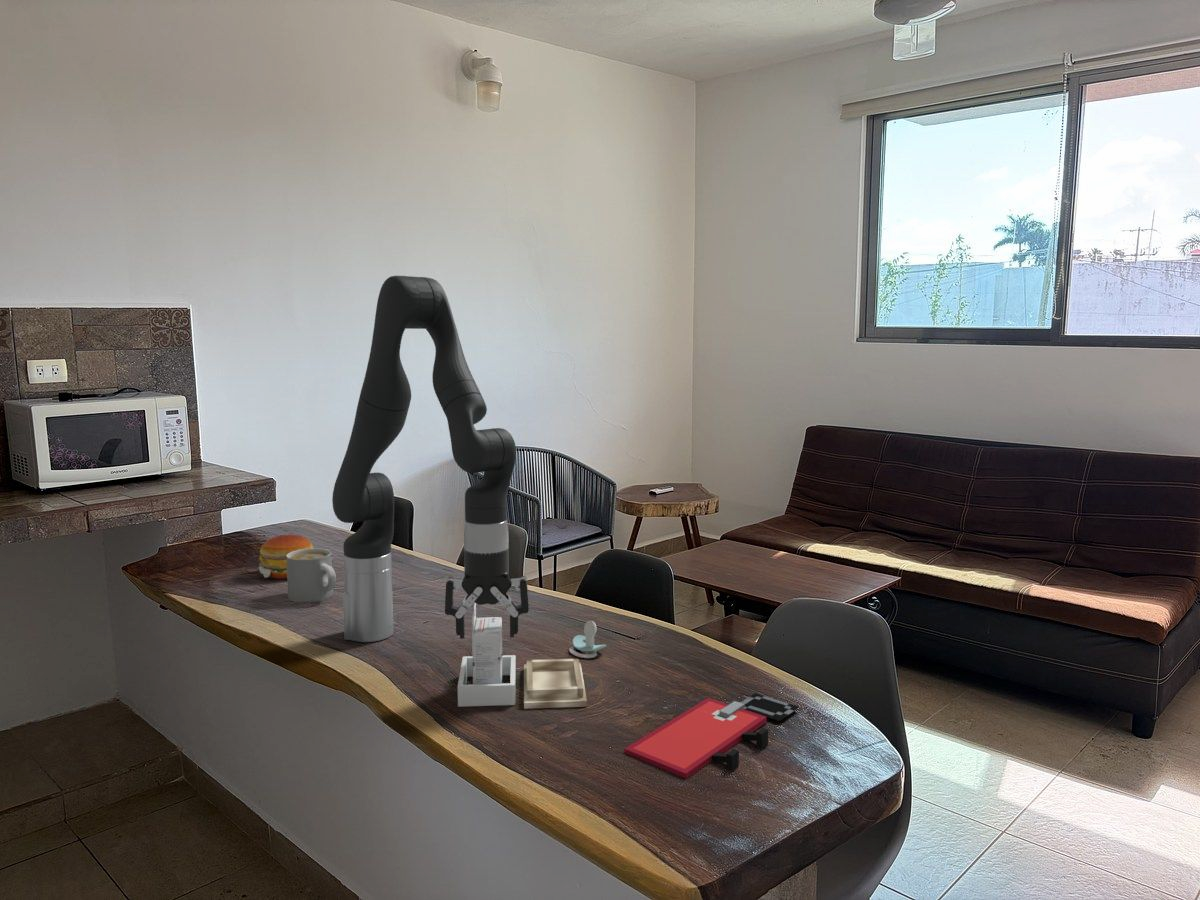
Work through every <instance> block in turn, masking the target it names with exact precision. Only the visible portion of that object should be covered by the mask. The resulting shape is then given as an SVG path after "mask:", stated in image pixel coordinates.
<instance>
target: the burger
mask: <svg viewBox="0 0 1200 900" xmlns="http://www.w3.org/2000/svg"><path fill="white" fill-rule="evenodd" d="M310 548H314V546H313V543H312V542H311V541H310V540H309V539H308V538H307V537H305V536H302V535H298V534H293V533H292V534H290V533H289V534H281V535H276V536H273V537H271V538H269V539H267V540H266V541H265V542H264V543H263V544H262V545H261V547H260V549H259V550H260V551H259V552H260V553H258V555H259V557H258V558H259V559H258V560H259V564H258V565H259V566H258V570H259V573H260V575H262V576H263V578H271V579H287V563H286V555H287V554H288V553H290V552H293V551H296V550H301V549H310Z"/></svg>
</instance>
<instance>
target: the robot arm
mask: <svg viewBox="0 0 1200 900" xmlns="http://www.w3.org/2000/svg"><path fill="white" fill-rule="evenodd" d="M406 329H407V330H408V329H409V330H410V329H411V330H412V329H413V330H417V329H418V330H423V329H425V330H426V331H427V332H428V335H430V337H431V340H432V341H433V344H434V349H435V353H434V354H435V355H434V356H435V357H434V362H433V367H432V374H431V375H432V387H433V390H434V393H435V396H436V397H437V400H438V402H439V404H440V407H441V409H442V411H443V413H444V415H445V417H446V419H447V427H448V432H449V438H450V444H451V446H450V447H451V453H452V456H453V459H454V462H455V463H456V465H457V466H458V467H459V468H460V469H461V470H462V471H464V472H466V473H467V474H468V473H469V474H476V473H477V474H478V473H483V475H482V478H481V480H480V481H478V482H477V483H475V484H473V485H471V486H469V487H468V488H466V490H465V492H464V493H465V494H464V529H463V557H464V559H463V560H464V561H463V562H464V564H463V565H464V567H463V568H464V569H463V570H464V575H463V578H462V579H454V578H453V577H451V576H449V577H448V578H447V580H446V583H445V594H444V595H445V596H444V597H445V600H444V613H445V615H446V616H452V617H454V618H455V633H456V635H457V636H459V638H460V639H465V636H466V624H465V620H466V619H465V614H466V612H468V610H469V609H470V608H471V607H472V605H474V603H476V605H478V606H479V605H482V606H483V605H485V604H488V605H497V604H498V603H500V604H501V606H502V607H503V608H504V609H506V610H507V612H508V613H509V638H515V635H518V633H519V616H520V615H523V614H527V613H528V612H529V610H530V609H529V608H530V607H529V593H528V579H527V577H526V576H525V575H521V576H520V577H518V578H517V577H516V578H511V576H510V573H509V572H510V570H509V569H510V568H509V567H510V565H509V564H510V561H509V555H510V554H509V553H510V550H509V543H510V539H509V526H508V520H507V519H508V516H507V515H508V513H507V506H508V505H507V495H508V492H509V487H510V485H511V481H512V476H513V472H514V468H515V465H516V460H517V447H516V442H515V440H514V437H513V435H512V434H511V432H509V431H508V430H507V429H505V428H502V427H493V428H485V429H476V427H475V425H476V424H478V423H479V422H480V421H482V420H483V419H484V418H485V417H486V415H487V411H488V407H487V404H486V402H485V399H484V397H483V395H482V393H481V391H480V389H479V387H478V384H477V382H476V381H475V379H474V377H473V374H472V372H471V370H470V368H469V365H468V362H467V359H466V357H465V353H464V350H463V348H462V344H461V340H460V337H459V333H458V329H457V325H456V322H455V318H454V315H453V312H452V308H451V305H450V301H449V299H448V296H447V294H446V291H445V290H444V288H443V286H442V284H441V283H439V281H438V280H436V279H434V278H432V277H425V276H410V275H409V276H407V275H392V276H389V277H388V278H386V279H385V280H384V281H383V284H382V285H381V287H380V290H379V294H378V298H377V302H376V309H375V316H374V325H373V332H372V339H371V340H372V341H371V346H370V352H369V357H368V362H367V366H366V370H365V374H364V379H363V382H362V387H361V389H360V394H359V397H358V401H357V402H358V403H357V406H356V411H355V416H354V421H353V425H352V429H351V430H352V431H351V434H350V437H349V441H348V443H347V444H348V445H347V449H346V451H345V454H344V457H343V460H342V462H341V465H340V468H339V471H338V472H337V473H338V474H337V477H336V479H335V482H334V486H333V490H332V499H331V501H332V509H333V514H335V515H334V516H335V517H336V519H338V520H339V521H340V522H342V523H344V524H352V523H360V522H361V523H362V522H363V523H362V525H361V526H360V527H359V528H358V529H357V530H356V531H355V532H353V533H352V534H351V535H349V536H348V537H347V538H346V539H345V540H344V542H343V564H344V567H343V568H344V592H343V593H342V605H343V606H342V608H343V632H344V633H343V634H344V640H345V641H353V642H356V643H357V642H358V643H373V642H378V641H383V640H385V639H388V638H390V637H391V636H392V635H393V634H394V607H393V604H394V603H393V602H394V601H393V578H392V577H393V574H392V571H393V570H392V542H393V538H394V535H395V534H394V533H395V531H394V530H395V529H394V528H395V521H394V520H395V493H394V489H393V488H394V487H393V484H392V482H391V480H390V478H389V477H388V476H387V475H385V473H382V472H372V469H373V468H374V465H375V464H376V462H377V461H378V459H379V458H380V457H381V456H382V455H383V454H384V452H385V451H387V449H388V448H389V447H390V446H391V445H392V443H394V441H395V440H396V439H397V438H398V436H399V435H400V433H401V432H402V430H403V428H404V426H405V424H406V420H407V416H408V413H409V410H410V405H411V401H412V389H411V385H410V382H409V379H408V377H407V373H406V371H405V369H404V367H403V364H402V360H401V353H400V351H401V345H402V339H403V336H404V333H405V330H406ZM512 586H513V587H514V588H515V590H516V591H517V592H519V593H520V604H519V605H516V604H515V602H514V601H513V599H512V598H511V596H510V595H509V594H508V591H509V590H510V588H511V587H512ZM460 587H462V589H463V591H464V592H465V593H466V595H465V597H464V598H463V600H462V601H461V603H460V604H459V606H455V605H454V595H455V594H454V593H457V592H458V591H459V588H460Z"/></svg>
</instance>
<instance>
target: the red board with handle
mask: <svg viewBox="0 0 1200 900" xmlns="http://www.w3.org/2000/svg"><path fill="white" fill-rule="evenodd" d="M799 708H800V706H798V705H795V704H792V703H789V702H785V701H782V700H779V699H775V698H772V697H769V696H765V695H762V694H759V693H756V692H754V693H753V694H752V695H750V696H748V697H747V698H745V699H744V700H742V701H741V702H739V701H737V700H734V701H732V702H731V703H730V704H728V703H725V702H722V701H720V700H719V701H718V700H716V699H712V698H710V697H707V698H706V699H704V700H702V701H701V702H699V703H697V704H696V705H694V706H692V707H691V708H689V709H687V710H685V711H684V712H682V713H681V714H679V715H677V716H676V717H674V718H672V719H670V720H669V721H668V722H666V723H664V724H663V725H661V726H659V727H658V728H656V729H654V730H652V731H651V732H649V733H648V734H646V735H645V736H643V737H641V738H640V739H638V740H636V741H635V742H633V743H631V744H630V745H628V746H626V747H624V749H623V750H624V753H625V754H628V755H629V756H631V757H634V758H637V759H639V760H641V761H644V762H646V763H648V764H650V765H653V766H656V767H658V768H660V769H663V770H665V771H667V772H669V773H672V774H675V775H677V776H679V777H681V778H684V779H687V778H688V779H689V777H691V776H692V775H693V774H695V773H696V772H698V771H699V770H700V769H702V768H704V767H705V766H706V765H708V764H710V763H711V762H712V763H726V764H725V766H726V770H728V771H730V772H733V771H734V770H735V769H737V768H738V767H740V750H737V749H735V748H733V747H734V746H735V745H737V744H739V743H740V742H741V741H748V742H749V741H753V742H756V747H755V748H757V749H759V750H763V749H764V748H766V747H767V746H769V729H768V728H765V727H762V726H764V725H765V724H766V723H767V722H768V721H767V720H768V719H767V718H769V719H773V720H775V721H778V722H781V721H782V720H784V719H785V718H786V717H787V716H789V715H790V714H792V713H793V712H795V711H796V710H797V709H799ZM760 727H762V728H760ZM759 728H760V729H759ZM758 729H759V730H758ZM757 730H758V731H757ZM755 731H756V732H755ZM731 748H733V749H731ZM730 749H731V750H730ZM729 750H730V751H729ZM727 751H728V752H727ZM726 752H727V753H726Z"/></svg>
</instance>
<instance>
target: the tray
mask: <svg viewBox="0 0 1200 900" xmlns="http://www.w3.org/2000/svg"><path fill="white" fill-rule="evenodd" d="M578 707H579V708H581V707H586V708H587V707H588V698H587V693H586V687H585V681H584V675H583V670H582V664H581V662H580V659H579V658H557V659H556V658H555V659H554V658H552V659H527V660H526V664H523V709H525V710H527V709H549V708H550V709H551V708H553V709H554V708H578Z"/></svg>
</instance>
